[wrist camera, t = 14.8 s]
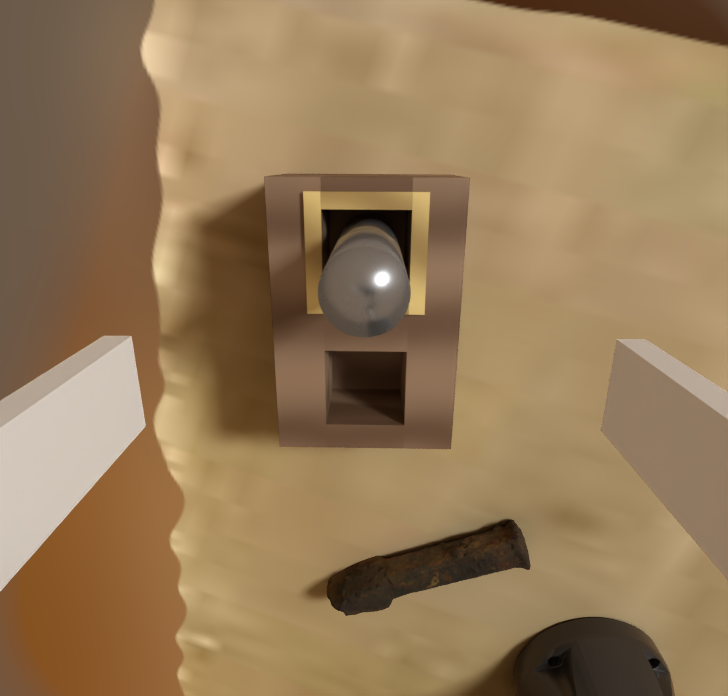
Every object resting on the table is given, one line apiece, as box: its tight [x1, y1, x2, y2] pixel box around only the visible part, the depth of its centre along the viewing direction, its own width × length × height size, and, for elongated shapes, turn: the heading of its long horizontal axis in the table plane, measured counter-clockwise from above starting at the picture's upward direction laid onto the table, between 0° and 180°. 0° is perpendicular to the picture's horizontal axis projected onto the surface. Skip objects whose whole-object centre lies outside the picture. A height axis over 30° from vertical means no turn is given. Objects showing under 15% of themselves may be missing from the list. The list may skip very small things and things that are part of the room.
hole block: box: [264, 174, 470, 449], centre depth 37 cm, size 18×12×8 cm, turn 0°
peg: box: [318, 212, 411, 338], centre depth 30 cm, size 4×4×16 cm
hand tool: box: [327, 520, 530, 616], centre depth 47 cm, size 19×4×5 cm, turn 107°
